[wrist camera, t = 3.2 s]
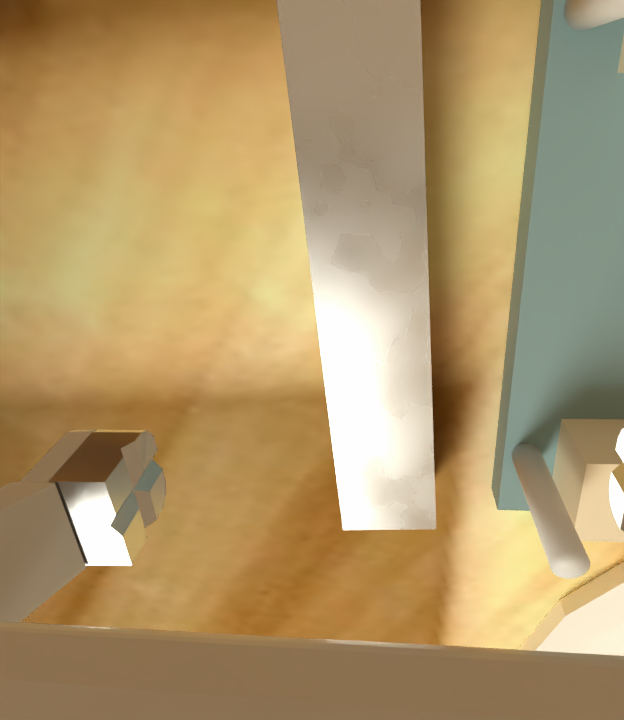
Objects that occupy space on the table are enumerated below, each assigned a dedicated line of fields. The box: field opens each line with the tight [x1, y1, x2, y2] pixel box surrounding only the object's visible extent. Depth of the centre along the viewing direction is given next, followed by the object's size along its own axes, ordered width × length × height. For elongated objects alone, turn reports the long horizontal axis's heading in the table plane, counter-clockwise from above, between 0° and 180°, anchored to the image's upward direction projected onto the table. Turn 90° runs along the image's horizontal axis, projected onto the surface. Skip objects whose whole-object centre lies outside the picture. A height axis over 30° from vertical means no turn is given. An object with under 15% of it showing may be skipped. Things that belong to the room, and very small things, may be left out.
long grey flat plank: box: [277, 0, 436, 530], centre depth 20 cm, size 22×4×4 cm, turn 7°
